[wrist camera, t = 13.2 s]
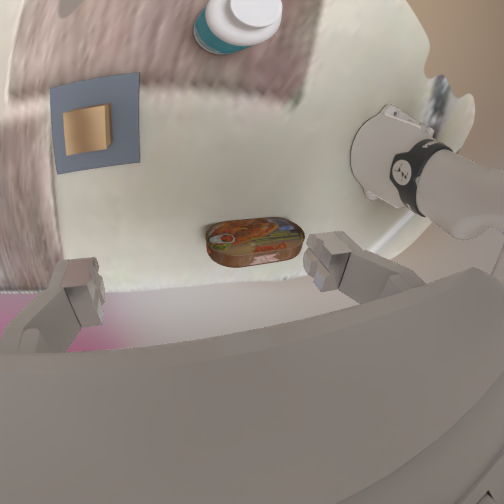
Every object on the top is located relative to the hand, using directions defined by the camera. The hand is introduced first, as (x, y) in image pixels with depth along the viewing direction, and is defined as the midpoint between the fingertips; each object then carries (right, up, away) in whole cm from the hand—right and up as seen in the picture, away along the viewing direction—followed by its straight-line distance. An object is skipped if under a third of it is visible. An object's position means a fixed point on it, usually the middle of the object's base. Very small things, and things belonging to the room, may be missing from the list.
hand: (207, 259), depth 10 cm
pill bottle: (-2, +28, +17) cm, 33 cm away
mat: (-18, +17, +18) cm, 31 cm away
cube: (-18, +16, +18) cm, 30 cm away
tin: (+1, +4, +35) cm, 35 cm away
